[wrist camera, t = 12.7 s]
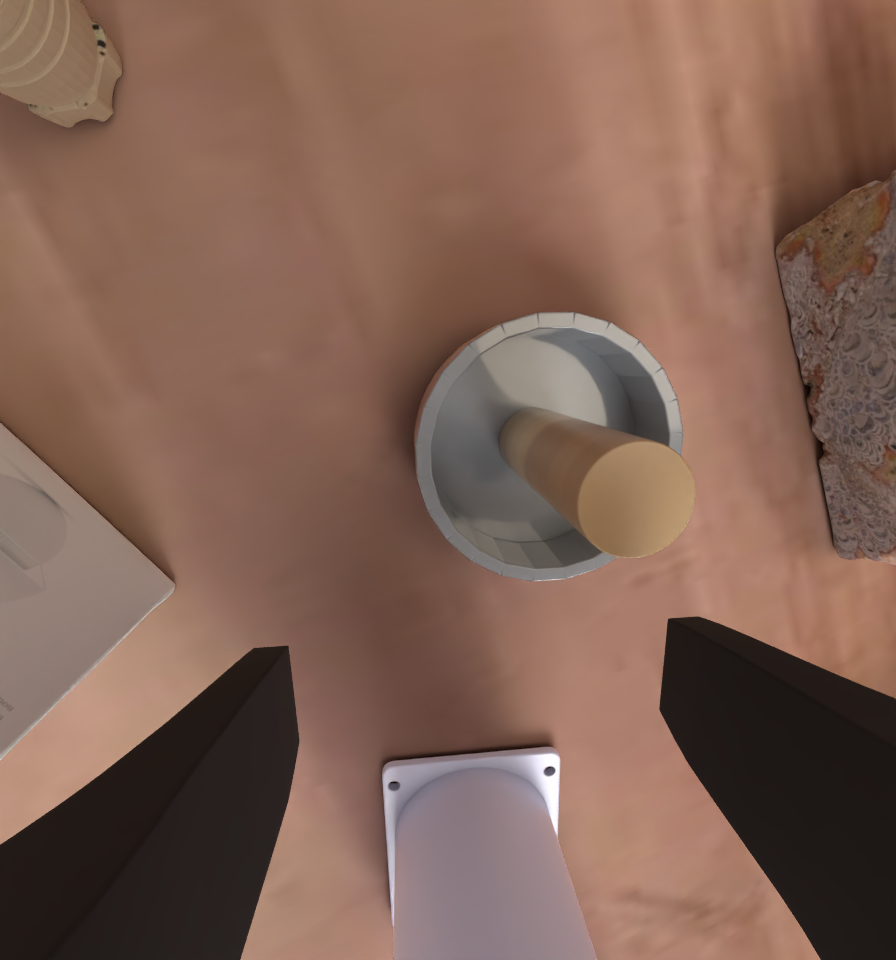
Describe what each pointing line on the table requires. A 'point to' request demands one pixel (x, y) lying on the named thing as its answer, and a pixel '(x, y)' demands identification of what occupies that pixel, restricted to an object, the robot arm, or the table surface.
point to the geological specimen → (850, 359)
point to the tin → (500, 394)
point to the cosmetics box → (59, 589)
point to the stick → (602, 480)
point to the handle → (57, 60)
